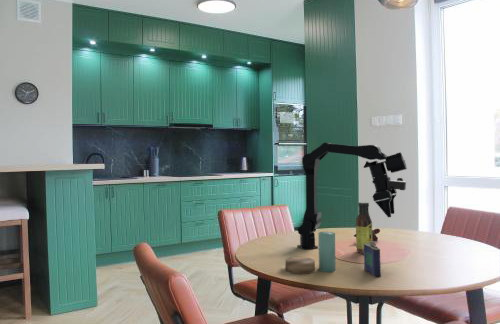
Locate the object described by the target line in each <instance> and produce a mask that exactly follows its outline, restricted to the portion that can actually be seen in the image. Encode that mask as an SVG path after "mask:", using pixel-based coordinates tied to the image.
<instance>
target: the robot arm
mask: <svg viewBox="0 0 500 324" xmlns="http://www.w3.org/2000/svg"><path fill="white" fill-rule="evenodd" d="M329 153H331V154H344V155H349V156H350V155H352V156H356V157H359V158H362V159H367V161H365V163H364V166H363V169H365V168H366V169H367V168H369V171H370V175H371V179H372V184H373V185H374V189H375V192H374V193H373V195H372V199H373V201H374V203H375V204H376V205H377V206H378V207H379V208H380V209H381V211H382V212H383V213H384V214H385V215H386V217H387V218H391V217H392V215H393V214H395V202H394V201H395V197H396V196H397V190H400V191H405V190H406V189H407V187H406V186H407V181H405V180H404V179H403V178H402V177H398V178H397V179H396V180H395V179H394V180H393V179H391V176H389V175H388V173H387V172H390V173H391V174H393V173H397V172H400V171H405V170H407V169H408V168H407V163H406V160H405V158H404V156H403V154H402V152H397V153H394V154H392V155H391V154H390V155H387V154H385V153H383V151H382V150H381V148H380V147H379V146H378V145H376V144H375V145H374V144H368V145H366V144H365V145H348V144H339V143H331V142H323V143H321V144H320V146H318V147H316V148H315V149H313V150H312V151H311V152H310V153H306V154H304V155H303V156H302V159H301V162H302V168H303V171H304V174H305V199H306V200H305V205H306V207H305V211H304V214H303V219H302V224H301V225H300V226H299V227H298V228H297V233H298V234H299V237H300V238H299V244H298V245H296V246H297V248H300V249H303V250H310V249H317V248H318V249H319V245H318V246H317V245H316V239H315V238H316V236H315V233H316V230H317V229H318V228H319V227H320V226H321V223H322V222H323V220H322V214H323V213H322V212H321V211H320V212H319V211H318V198H317V197H318V193H317V192H318V191H317V190H318V188H317V186H318V183H317V179H318V176H317V175H318V172H319V169H320V164H321V160H323V159H324V158H325V157H326V156H327V155H328V154H329ZM369 160H370V161H371V162H370V161H369ZM372 160H374V161H372ZM382 160H383V161H382ZM384 160H385V161H384ZM379 161H380V162H379Z"/></svg>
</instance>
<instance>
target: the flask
mask: <svg viewBox="0 0 500 324" xmlns="http://www.w3.org/2000/svg"><path fill="white" fill-rule="evenodd" d="M376 241H377V240H376ZM376 241H374V240H373V241H369V242H370V244H364V253H363V270H364V271H365V272H367V274H370V275H371V276H372V277H373V278H381V277H382V271H381V270H382V269H381V249H380V248H379V247H378V246H377V245H376Z"/></svg>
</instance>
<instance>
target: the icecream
mask: <svg viewBox="0 0 500 324" xmlns="http://www.w3.org/2000/svg"><path fill="white" fill-rule="evenodd" d="M380 232H381V230H380V228H374V229H372V241H378V239H379V237H378V236H377V234H379V233H380ZM353 237H355V238H356V233H355V234H354V235H353Z"/></svg>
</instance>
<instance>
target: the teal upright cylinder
mask: <svg viewBox="0 0 500 324" xmlns="http://www.w3.org/2000/svg"><path fill="white" fill-rule="evenodd" d="M317 237H318V240H317V241H318V270H319V271H320V272H323V273H332V272H335V271H336V269H337V268H336V267H337V266H336V264H337V263H336V232H334V231H318V236H317Z"/></svg>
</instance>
